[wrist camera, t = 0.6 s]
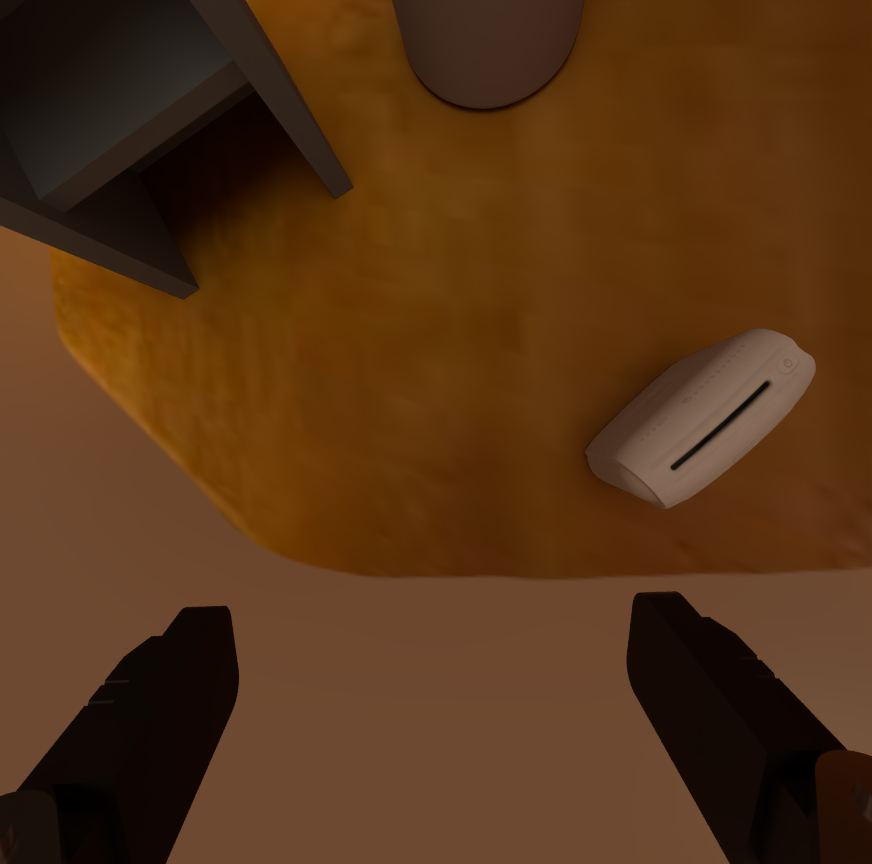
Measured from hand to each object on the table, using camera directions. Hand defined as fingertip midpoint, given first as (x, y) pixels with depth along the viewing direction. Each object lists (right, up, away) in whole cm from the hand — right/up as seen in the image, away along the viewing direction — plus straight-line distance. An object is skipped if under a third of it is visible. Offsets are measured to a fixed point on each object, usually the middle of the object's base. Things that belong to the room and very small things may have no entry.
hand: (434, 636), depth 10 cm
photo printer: (+15, +5, +24) cm, 29 cm away
